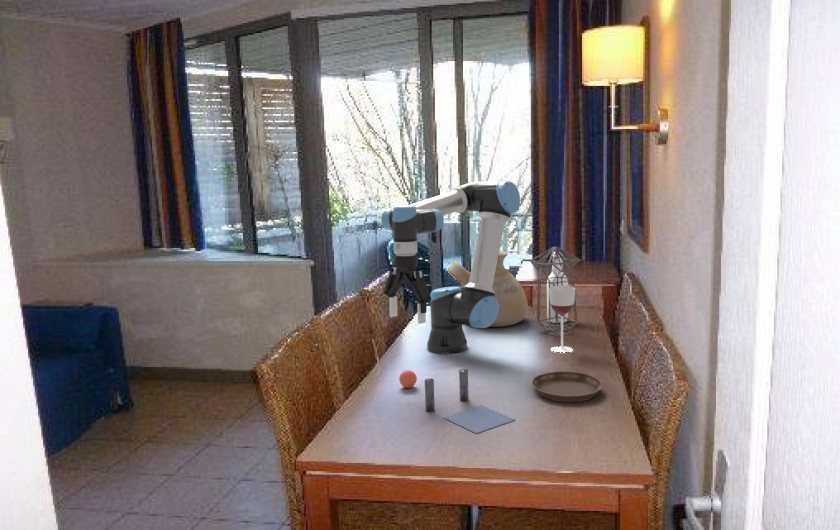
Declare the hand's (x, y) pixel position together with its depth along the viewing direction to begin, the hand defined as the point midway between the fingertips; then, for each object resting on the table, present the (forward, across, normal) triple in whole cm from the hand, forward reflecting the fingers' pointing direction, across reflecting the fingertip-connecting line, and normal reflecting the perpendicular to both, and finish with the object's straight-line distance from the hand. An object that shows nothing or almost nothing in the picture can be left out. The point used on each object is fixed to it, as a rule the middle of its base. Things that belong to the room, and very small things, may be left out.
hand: (407, 319), depth 216 cm
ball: (+17, +6, -5) cm, 19 cm away
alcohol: (+19, -8, +93) cm, 95 cm away
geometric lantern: (+19, +2, +78) cm, 80 cm away
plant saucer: (+20, +44, +24) cm, 54 cm away
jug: (+19, -31, +74) cm, 82 cm away
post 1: (+20, +25, -14) cm, 35 cm away
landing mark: (+20, +39, -10) cm, 45 cm away
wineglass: (+19, +18, +60) cm, 65 cm away
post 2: (+20, +26, -2) cm, 33 cm away
